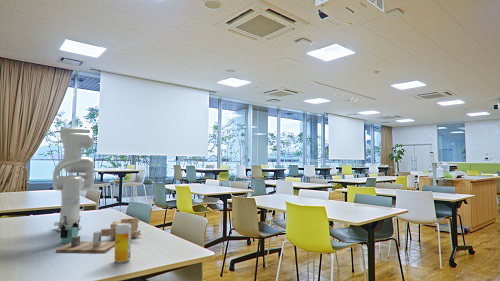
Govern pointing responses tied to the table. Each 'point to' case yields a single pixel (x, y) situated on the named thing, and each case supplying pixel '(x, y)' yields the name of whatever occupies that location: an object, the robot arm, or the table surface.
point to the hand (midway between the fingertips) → (69, 235)
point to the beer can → (122, 242)
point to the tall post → (97, 238)
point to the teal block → (70, 234)
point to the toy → (132, 222)
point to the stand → (85, 246)
